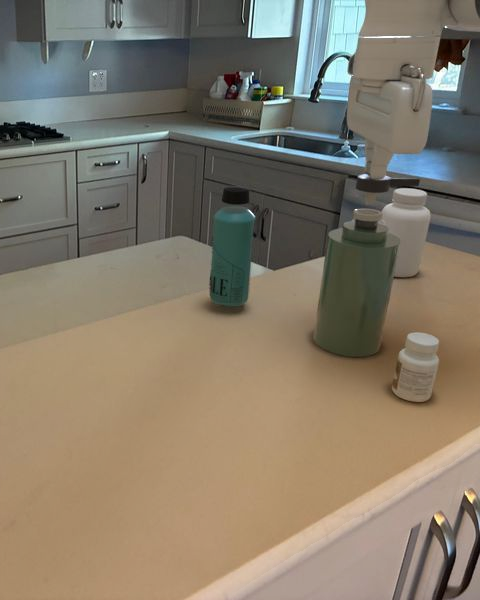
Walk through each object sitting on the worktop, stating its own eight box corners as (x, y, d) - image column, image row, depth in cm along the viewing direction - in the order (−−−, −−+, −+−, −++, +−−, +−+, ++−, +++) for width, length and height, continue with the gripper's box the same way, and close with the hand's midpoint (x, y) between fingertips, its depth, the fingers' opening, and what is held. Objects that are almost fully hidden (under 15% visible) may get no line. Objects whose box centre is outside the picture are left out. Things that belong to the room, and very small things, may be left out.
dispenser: (369, 329, 93) (392, 203, 85) (388, 358, 85) (416, 222, 77) (307, 327, 94) (325, 202, 86) (320, 355, 86) (341, 221, 78)
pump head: (408, 200, 82) (413, 173, 81) (419, 208, 79) (425, 180, 77) (349, 200, 83) (353, 173, 82) (357, 208, 80) (362, 180, 78)
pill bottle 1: (416, 281, 110) (433, 199, 103) (367, 273, 113) (381, 193, 107) (420, 267, 116) (437, 188, 110) (374, 260, 120) (388, 184, 113)
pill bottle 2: (397, 380, 80) (409, 326, 76) (435, 392, 77) (448, 337, 74) (385, 394, 77) (397, 339, 74) (424, 407, 74) (437, 350, 71)
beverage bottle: (252, 303, 103) (264, 184, 95) (240, 318, 97) (251, 194, 89) (215, 296, 106) (223, 180, 98) (201, 310, 100) (208, 190, 92)
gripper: (458, 67, 64) (430, 197, 70) (394, 58, 83) (376, 161, 88) (394, 68, 65) (372, 196, 71) (345, 59, 84) (330, 161, 89)
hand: (374, 176), depth 80 cm, fingers closed, pressing on pump head
